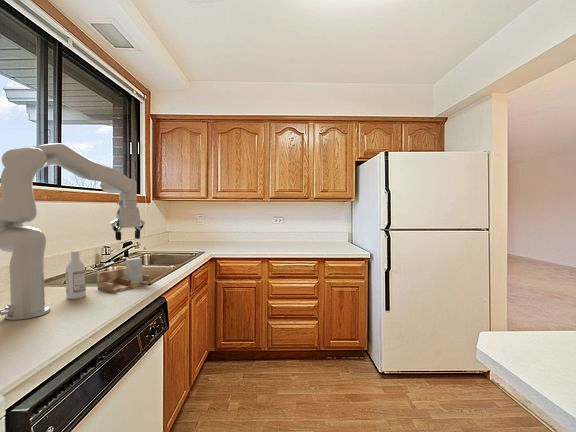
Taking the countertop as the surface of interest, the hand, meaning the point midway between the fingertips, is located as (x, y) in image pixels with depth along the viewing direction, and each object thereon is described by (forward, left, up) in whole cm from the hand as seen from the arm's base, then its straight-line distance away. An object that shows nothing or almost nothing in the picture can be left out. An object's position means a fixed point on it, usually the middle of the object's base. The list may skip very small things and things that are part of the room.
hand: (128, 239), depth 154 cm
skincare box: (+2, -1, -22) cm, 22 cm away
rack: (-2, 0, -23) cm, 23 cm away
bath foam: (-23, +2, -23) cm, 33 cm away
